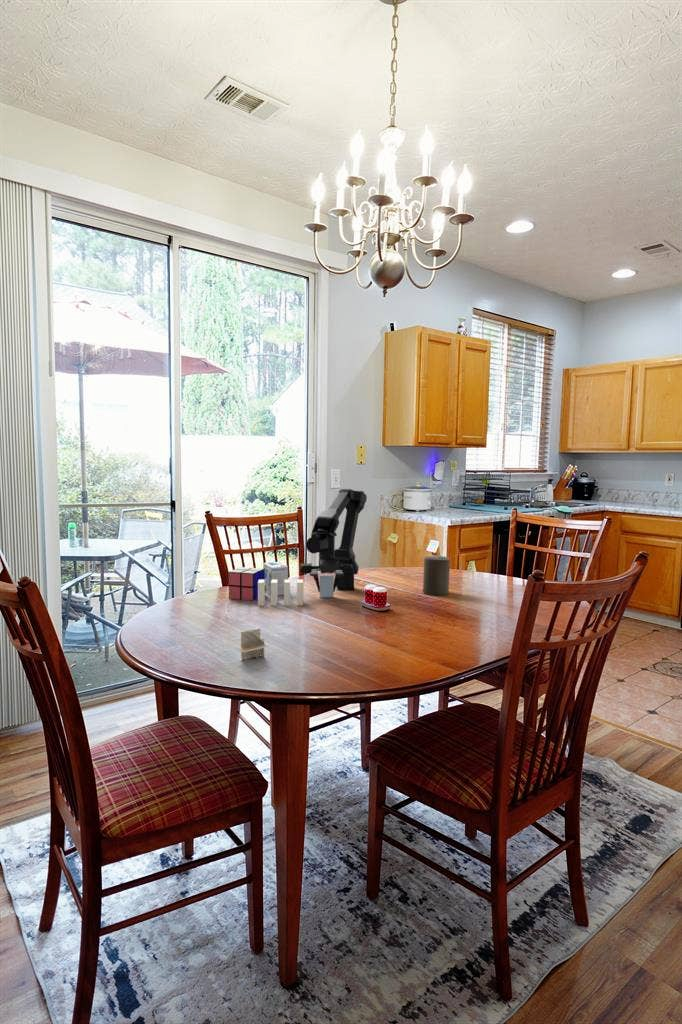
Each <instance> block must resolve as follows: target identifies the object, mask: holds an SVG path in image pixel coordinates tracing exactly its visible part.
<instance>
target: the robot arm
mask: <svg viewBox="0 0 682 1024" xmlns="http://www.w3.org/2000/svg"><path fill="white" fill-rule="evenodd" d="M366 502H367V494H366V493H365V491H364V490H353V489H352V488H341V489H339V491H338V494H337V495H336V497H335V499H334V500H333V501H332V503H331V505H330V506H329V507H328V509H326V510H324V511H322V512H321V513H320V514H319V515H318V516H317V518H316V519H315V522H314V524H313V528H312V531H311V534H310V537H309V538H308V539H307V541H306V542H305V547H306V550H307V551H308V552H309V553H311V554H318V565H313V564H312V563H307V562H306V563H301V565H300V574H302V575H304V574H308V575H309V576H311V577H313V579H314V582H315V584H316V587H317V592H319V593H320V577H319V573H321V574H334V575H333V576H334V579H333V593H334V592H335V591H336V588H337V590H338V591H354V590H355V589H356V588H355V575H358V574H359V565H358V563H357V561H356V554H355V552H354V543H355V537H356V532H357V526H358V520H359V515H360V513H361V512H362V510H363V509H364V508H365V504H366ZM344 510H346V512H345V513H346V514H345V518H344V523H343V524H344V525H343V530H342V535H341V541H340V546H339V547H338V548H336V549H335V547H336V546H335V543H336V538H335V537H336V536H337V535H338V534H337V533H336V530H337V529H338V527H339V524H340V517H341V516H342V514H343V512H344Z"/></svg>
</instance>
